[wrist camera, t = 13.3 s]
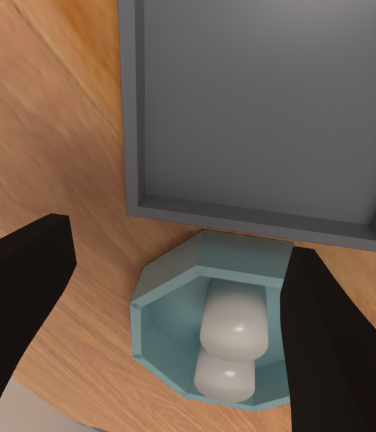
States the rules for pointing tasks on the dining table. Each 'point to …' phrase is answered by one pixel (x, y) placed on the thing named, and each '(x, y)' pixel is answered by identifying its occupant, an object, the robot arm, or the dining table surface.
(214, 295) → the pebble
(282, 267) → the bowl
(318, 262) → the robot arm
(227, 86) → the parts tray
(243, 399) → the pebble
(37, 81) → the dining table surface
